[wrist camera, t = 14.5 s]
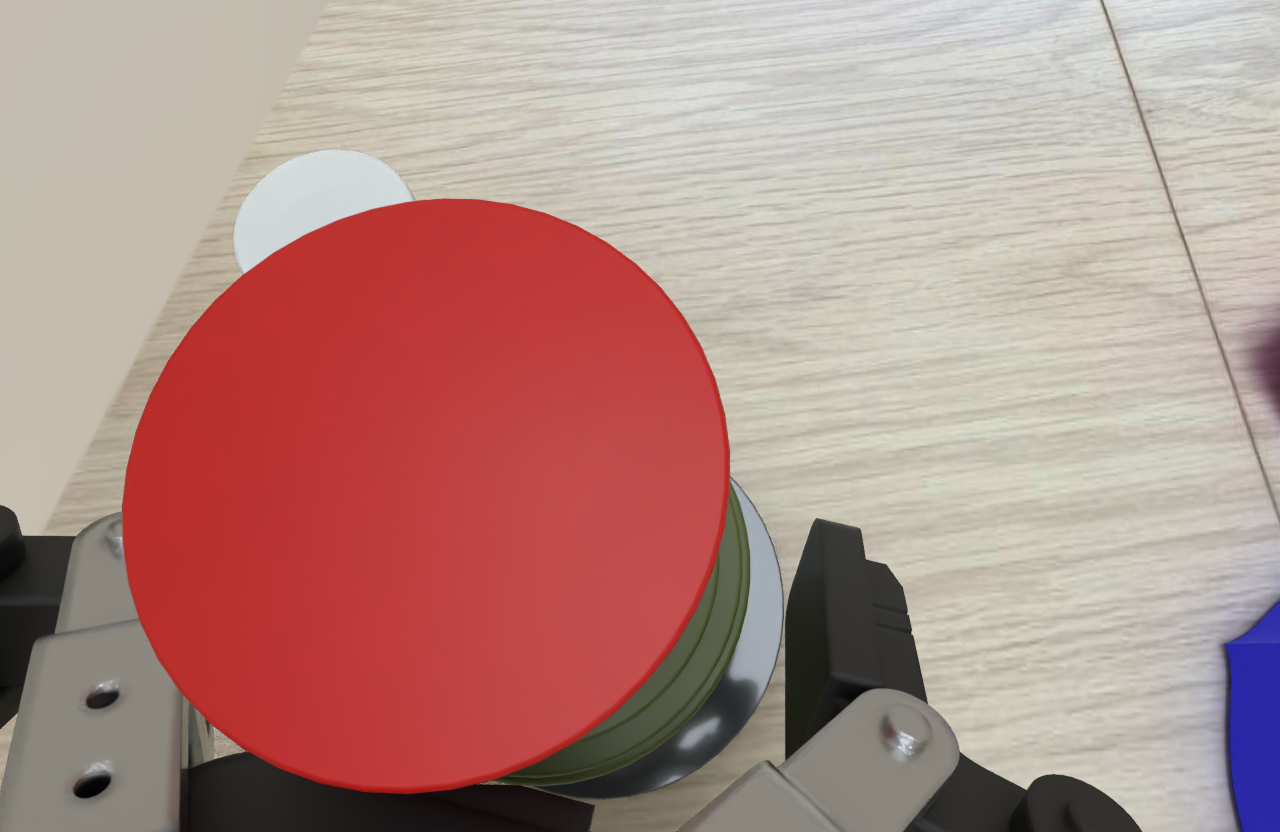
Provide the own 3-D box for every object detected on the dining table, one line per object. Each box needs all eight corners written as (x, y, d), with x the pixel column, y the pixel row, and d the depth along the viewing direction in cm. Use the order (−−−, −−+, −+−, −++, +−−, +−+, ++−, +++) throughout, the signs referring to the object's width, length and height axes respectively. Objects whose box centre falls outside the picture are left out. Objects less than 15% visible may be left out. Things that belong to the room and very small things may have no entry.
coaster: (374, 741, 22) (366, 744, 21) (484, 396, 25) (480, 390, 24) (743, 840, 21) (745, 846, 20) (808, 469, 24) (812, 465, 23)
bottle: (473, 684, 22) (-124, 802, 5) (530, 487, 23) (231, 81, 7) (674, 736, 21) (769, 1066, 4) (717, 531, 23) (899, 212, 6)
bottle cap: (274, 676, 8) (-4, 695, 5) (399, 334, 9) (252, 148, 6) (652, 776, 8) (653, 878, 4) (731, 407, 9) (781, 257, 6)
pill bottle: (496, 473, 24) (401, 364, 15) (341, 440, 24) (155, 313, 15) (538, 324, 26) (476, 143, 16) (392, 295, 26) (252, 102, 17)
